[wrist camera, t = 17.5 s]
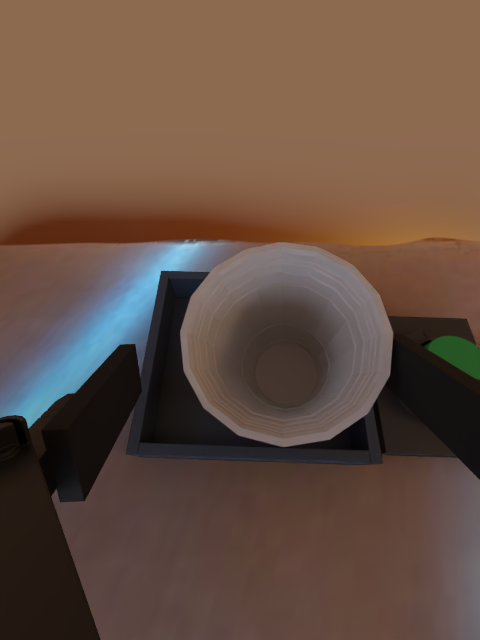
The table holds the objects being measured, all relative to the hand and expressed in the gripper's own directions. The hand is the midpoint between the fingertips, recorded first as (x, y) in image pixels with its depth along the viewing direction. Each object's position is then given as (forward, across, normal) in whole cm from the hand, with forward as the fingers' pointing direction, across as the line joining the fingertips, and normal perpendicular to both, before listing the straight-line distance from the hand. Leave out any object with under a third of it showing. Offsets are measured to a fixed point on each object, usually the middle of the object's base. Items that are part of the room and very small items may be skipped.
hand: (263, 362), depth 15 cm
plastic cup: (+9, +3, -6) cm, 11 cm away
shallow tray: (+11, 0, -6) cm, 12 cm away
